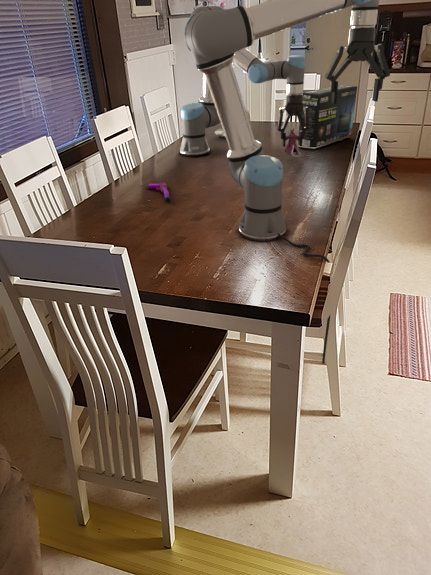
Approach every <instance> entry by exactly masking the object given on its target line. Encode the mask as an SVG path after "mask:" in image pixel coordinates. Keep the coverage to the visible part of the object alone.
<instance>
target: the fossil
mask: <svg viewBox="0 0 431 575" xmlns="http://www.w3.org/2000/svg"><path fill="white" fill-rule="evenodd" d="M214 134H215V136H216V135H222V136H217V137H218V138H220V137H223V136H225V134H224V131H223V128H218V129H216V130H215V131H214Z"/></svg>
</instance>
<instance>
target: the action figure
mask: <svg viewBox="0 0 431 575" xmlns="http://www.w3.org/2000/svg"><path fill="white" fill-rule="evenodd" d="M294 131H295V129H294V128H293V129H292V128H290V130H289V131H288V134H289V135H286V141H287V140H288V142H287V144H285V149H284V153H286V154H287V155H290V156H293V157H296V158H298V157H300V156H301V155H302V153H301V152H300V150H299V147H298V145H297V141H298V140H299V135H297V134H295V133H294ZM294 153H295V155H294Z"/></svg>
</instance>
